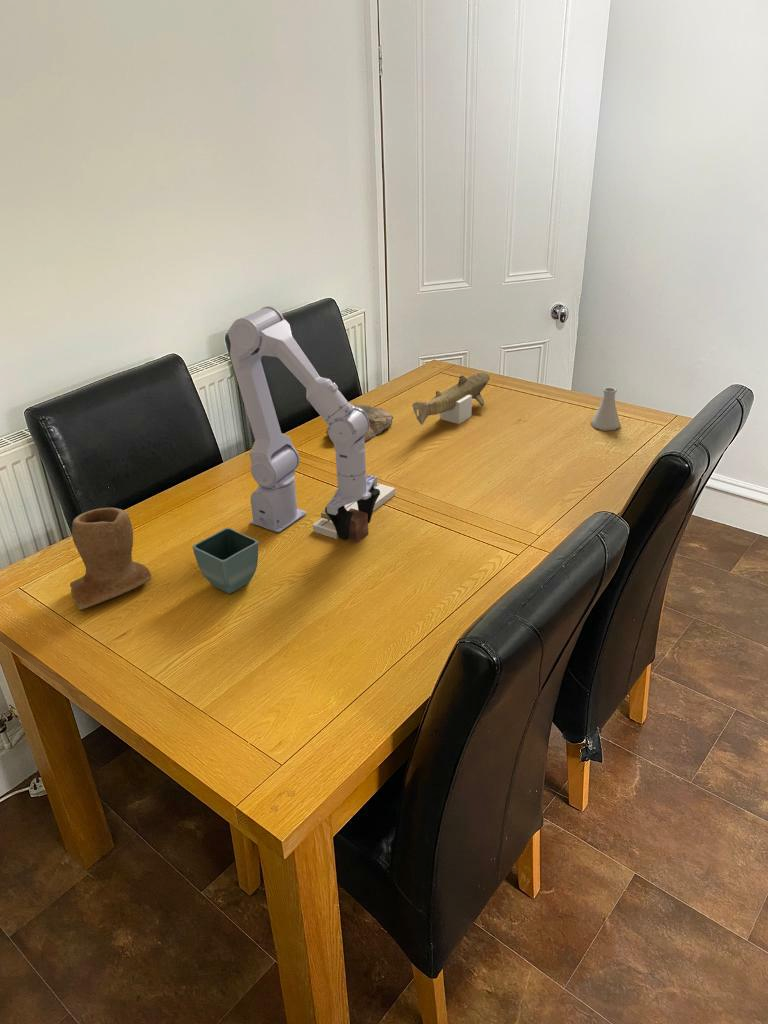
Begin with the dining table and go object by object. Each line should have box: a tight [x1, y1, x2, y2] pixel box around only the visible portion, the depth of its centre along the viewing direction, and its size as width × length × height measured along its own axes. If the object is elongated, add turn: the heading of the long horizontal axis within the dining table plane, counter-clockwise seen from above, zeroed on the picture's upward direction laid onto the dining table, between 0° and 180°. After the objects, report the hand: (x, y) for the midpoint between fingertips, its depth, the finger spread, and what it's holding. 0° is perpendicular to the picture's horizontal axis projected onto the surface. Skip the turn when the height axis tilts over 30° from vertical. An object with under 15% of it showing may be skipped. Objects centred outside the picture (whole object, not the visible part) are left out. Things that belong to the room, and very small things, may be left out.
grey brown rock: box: [325, 404, 395, 442], centre depth 210 cm, size 14×5×20 cm
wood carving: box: [412, 372, 491, 426], centre depth 212 cm, size 9×35×11 cm, turn 143°
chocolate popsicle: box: [320, 508, 369, 544], centre depth 165 cm, size 4×10×5 cm, turn 56°
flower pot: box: [191, 527, 259, 594], centre depth 149 cm, size 9×9×9 cm
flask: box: [590, 386, 621, 432], centre depth 207 cm, size 7×7×10 cm
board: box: [312, 482, 396, 540], centre depth 173 cm, size 22×6×2 cm, turn 146°
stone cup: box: [69, 507, 152, 611], centre depth 148 cm, size 15×12×15 cm
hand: (354, 529), depth 165 cm, fingers open, 7 cm apart
